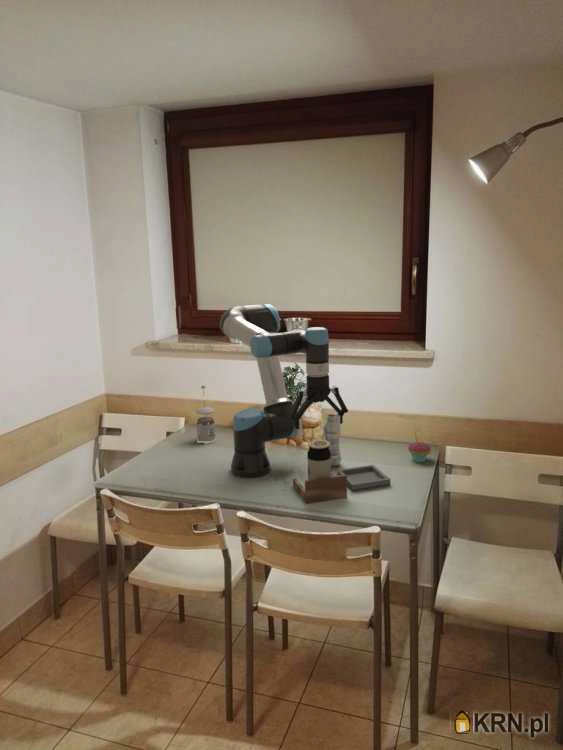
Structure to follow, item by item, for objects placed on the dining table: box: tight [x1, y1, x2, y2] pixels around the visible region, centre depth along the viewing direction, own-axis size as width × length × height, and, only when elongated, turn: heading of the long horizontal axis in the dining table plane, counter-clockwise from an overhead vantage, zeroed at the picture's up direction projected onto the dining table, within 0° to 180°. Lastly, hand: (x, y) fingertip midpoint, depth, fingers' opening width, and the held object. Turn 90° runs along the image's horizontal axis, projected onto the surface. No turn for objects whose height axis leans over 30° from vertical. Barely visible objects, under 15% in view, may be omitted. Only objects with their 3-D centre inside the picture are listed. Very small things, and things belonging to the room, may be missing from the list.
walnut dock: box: [292, 473, 348, 505], centre depth 212 cm, size 15×14×8 cm
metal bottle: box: [322, 413, 342, 467], centre depth 235 cm, size 6×7×20 cm
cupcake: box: [407, 431, 432, 463], centre depth 238 cm, size 9×8×12 cm
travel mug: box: [306, 439, 332, 480], centre depth 211 cm, size 8×8×18 cm
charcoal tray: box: [336, 464, 391, 492], centre depth 221 cm, size 14×14×2 cm
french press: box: [195, 385, 216, 441], centre depth 267 cm, size 10×12×25 cm
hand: (319, 435), depth 208 cm, fingers open, 13 cm apart
